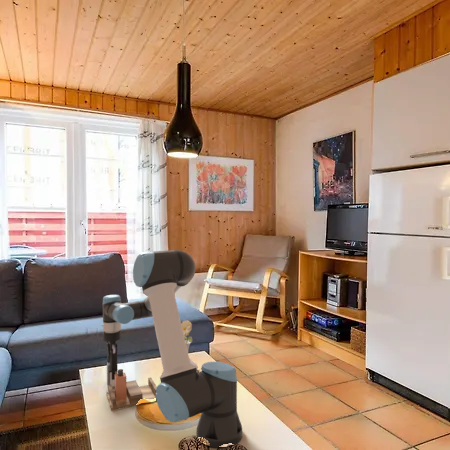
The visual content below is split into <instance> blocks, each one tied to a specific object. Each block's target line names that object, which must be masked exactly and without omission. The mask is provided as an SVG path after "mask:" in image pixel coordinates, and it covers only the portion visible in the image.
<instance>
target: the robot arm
mask: <svg viewBox="0 0 450 450" xmlns="http://www.w3.org/2000/svg"><path fill="white" fill-rule="evenodd" d="M196 270H197V268H196V263H195V261H194V258H193V257H192V256H191V254H189V253H188V252H187V251H184V250H180V249H175V250H158V251H157V250H155V251H154V250H151V251H144V252H140V253H139V254H138V255H137V256H136V257H135V260H134V263H133V268H132V278H133V283H134V284H135V286H136V287H138V288H142V294H143V295H145V296H146V297H145V298H144V300H137V301H130V302H123V303H122V299H121V296H120V295H119V294H109V295H105V296H103V298H102V304H101V305H102V323H101V327H102V331H103V332H102V340H103V342H106V347H107V349H106V352H107V353H106V354H107V356H106V357H107V358H106V363H109V362H110V371H109V373H110V385H112V388H115V374H117V370H119V369H118V343H117V341H120V340H121V338H122V336H121V335H122V331H121V329H122V325H127V324H129V323H130V322H131V321H134V320H141V319H145V318H146V319H147V318H152V319H153V321H152V322H153V325H154V330H155V335H156V340H157V345H158V350H159V354H160V360H161V365H162V369H163V371H162V373H161V375H160V376H159V379H160V380H159V381H160V383H159V384H158V385H156V386H157V388H156V400H157V401H156V403H157V405H158V409H159V411H160V413H161V414H162V416H163V417H164V418H165V419H166V421H168V422H171V423H177V422H181V421H186V420H188V419H189V418H193V417H194V416H197V415H200V417H199V420H198V423H197V427H196V437H197V436H198V437H203V438H205V439H207V440H208V441H209V443H210V447H209V448H214V449H219V448H218V447H219V446H221V445H223V444H228V443H232V444H235V445H236V444H238V443H239V442H241V440H242V438H243V426H242V422H241V420H240V416H239V414H238V408H237V407H238V405H237V403H238V401H237V400H238V399H237V397H238V387H237V386H238V378H237V377H238V376H237V370H236V368H235V367H234V366H233V365H231V364H230V363H226V362H223V361H222V362H221V361H207V362H205V363H203V364H202V365H201V367H200V369H201V371H199V372H198V368H197V369H196V367H195V366H194V365H192V364H191V363H190V360H189V358H190V356H189V350H188V351H187V347H186V343H185V341H186V339H185V338H184V334H183V329H182V325H181V323H182V321H181V317H180V313H179V308H178V304H177V299H176V295H175V294H176V293H177V292H178V291H179V289H181V288H182V287H185V286H187V285H188V284H189V283H190V282H191V281H192V280H193V278H194V277H195V274H196Z"/></svg>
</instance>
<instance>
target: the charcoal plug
mask: <svg viewBox="0 0 450 450" xmlns="http://www.w3.org/2000/svg"><path fill="white" fill-rule="evenodd" d="M118 370H119V369H118ZM118 370H117V374H118ZM109 371H110V362H109V363H108V362H106V385H107V386H108V385H110V373H109Z"/></svg>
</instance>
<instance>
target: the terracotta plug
mask: <svg viewBox="0 0 450 450" xmlns="http://www.w3.org/2000/svg"><path fill="white" fill-rule="evenodd" d="M126 382H127V375H126V372H124V369H122V368H121V369H118V374H115V386H114V391H115V397H116V401H118V400H123V399H127V397H126Z"/></svg>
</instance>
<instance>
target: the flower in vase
mask: <svg viewBox="0 0 450 450" xmlns="http://www.w3.org/2000/svg"><path fill="white" fill-rule="evenodd" d="M181 325H182V329H183V334H184V338H185V343H186V347H187V351H188V352H189V348H190V345H191V343H193V341H194V340H193V337H192V336H190V333H191V331H192V327H193V323H192V322H191V321H190V320H188V319H187V320H183V321H181ZM187 336H188V337H187ZM189 360H190V363H191V364H192V365H194V366H195V367H196V369H197V370H198V368H199V367H198V364H197V362H195V361H194V360H193V359H191V358H190V357H189Z"/></svg>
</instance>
